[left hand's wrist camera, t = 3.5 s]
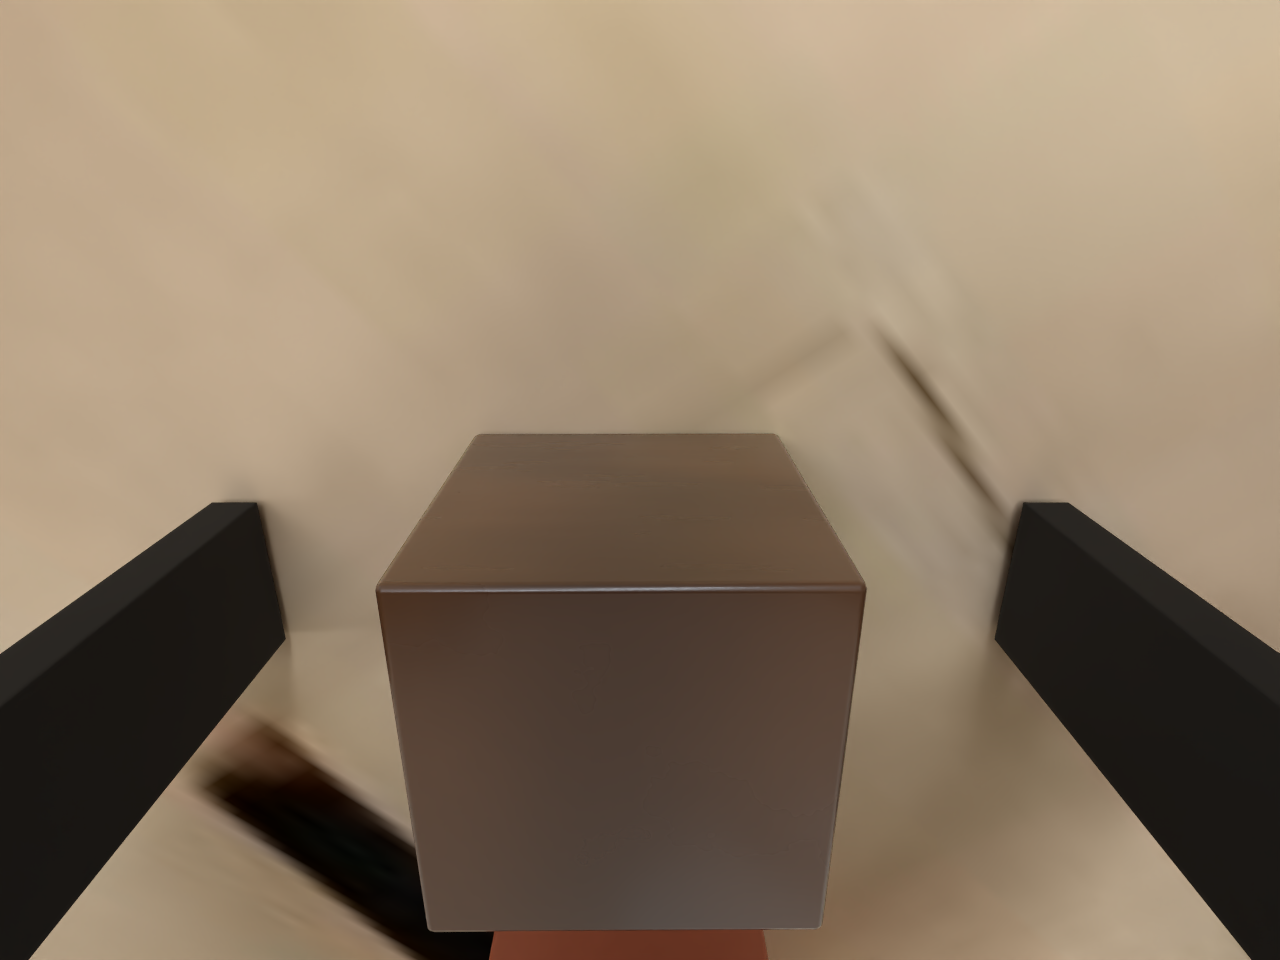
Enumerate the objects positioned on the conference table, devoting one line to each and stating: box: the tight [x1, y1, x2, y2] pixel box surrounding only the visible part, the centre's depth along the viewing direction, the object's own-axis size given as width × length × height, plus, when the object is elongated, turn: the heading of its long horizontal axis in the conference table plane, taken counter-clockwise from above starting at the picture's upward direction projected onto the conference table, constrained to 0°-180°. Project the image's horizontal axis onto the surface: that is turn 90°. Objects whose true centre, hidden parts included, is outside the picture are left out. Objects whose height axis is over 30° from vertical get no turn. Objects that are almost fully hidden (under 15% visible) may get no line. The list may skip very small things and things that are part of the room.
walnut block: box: [376, 434, 867, 932], centre depth 10 cm, size 5×5×5 cm
